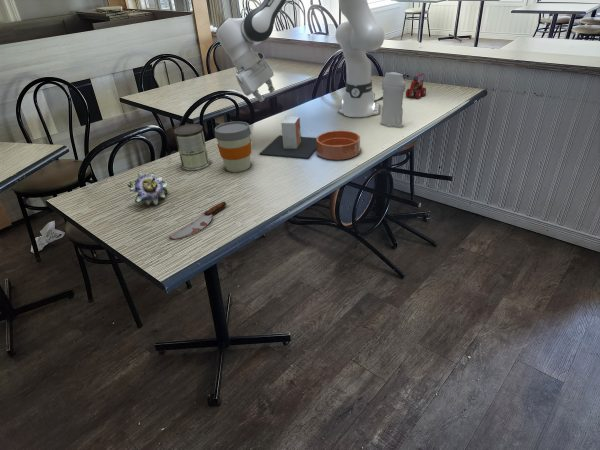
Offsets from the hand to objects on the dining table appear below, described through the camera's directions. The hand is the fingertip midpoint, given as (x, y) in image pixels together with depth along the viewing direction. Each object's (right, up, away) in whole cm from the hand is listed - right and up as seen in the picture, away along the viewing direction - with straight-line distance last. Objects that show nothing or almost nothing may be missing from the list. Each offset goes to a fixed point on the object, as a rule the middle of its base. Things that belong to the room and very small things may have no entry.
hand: (267, 96), depth 161 cm
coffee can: (-27, -27, -3) cm, 38 cm away
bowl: (+27, -22, -2) cm, 35 cm away
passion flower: (-36, -42, -25) cm, 61 cm away
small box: (+9, -18, +5) cm, 21 cm away
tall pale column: (+52, -7, +19) cm, 56 cm away
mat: (+10, -19, +5) cm, 22 cm away
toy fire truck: (+72, +16, +53) cm, 90 cm away
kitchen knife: (-16, -49, -40) cm, 65 cm away
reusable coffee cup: (-10, -29, -7) cm, 31 cm away
